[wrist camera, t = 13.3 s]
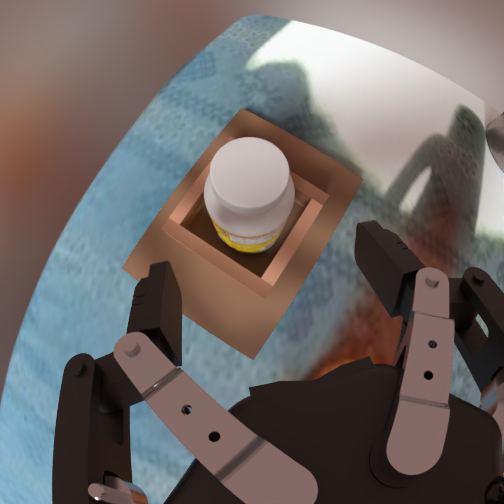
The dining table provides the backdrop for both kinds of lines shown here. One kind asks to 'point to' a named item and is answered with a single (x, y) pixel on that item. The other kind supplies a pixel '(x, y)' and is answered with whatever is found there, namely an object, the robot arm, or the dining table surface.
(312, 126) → the dining table surface
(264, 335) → the socket board
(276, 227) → the supplement bottle
